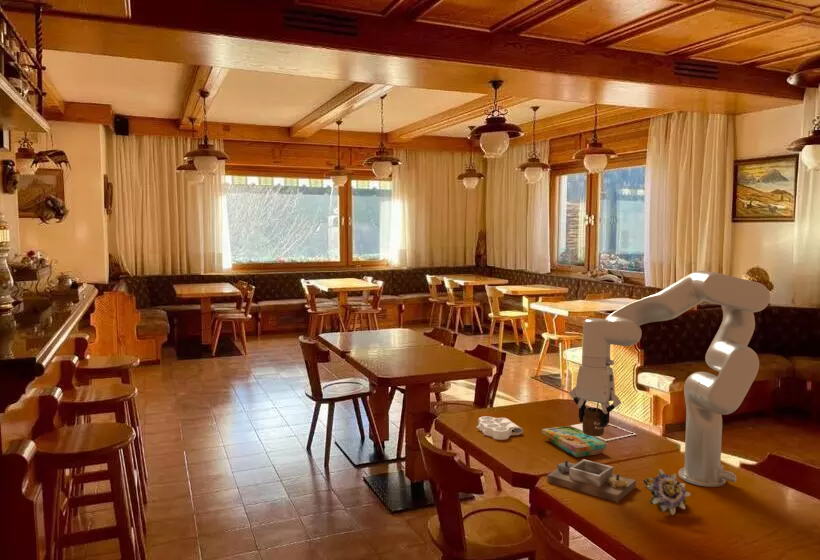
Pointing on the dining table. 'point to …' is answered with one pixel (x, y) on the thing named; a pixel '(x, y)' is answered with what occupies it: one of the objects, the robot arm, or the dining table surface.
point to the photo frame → (580, 427)
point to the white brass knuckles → (498, 427)
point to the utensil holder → (592, 421)
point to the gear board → (592, 479)
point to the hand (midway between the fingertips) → (593, 422)
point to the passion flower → (667, 492)
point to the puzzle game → (574, 441)
